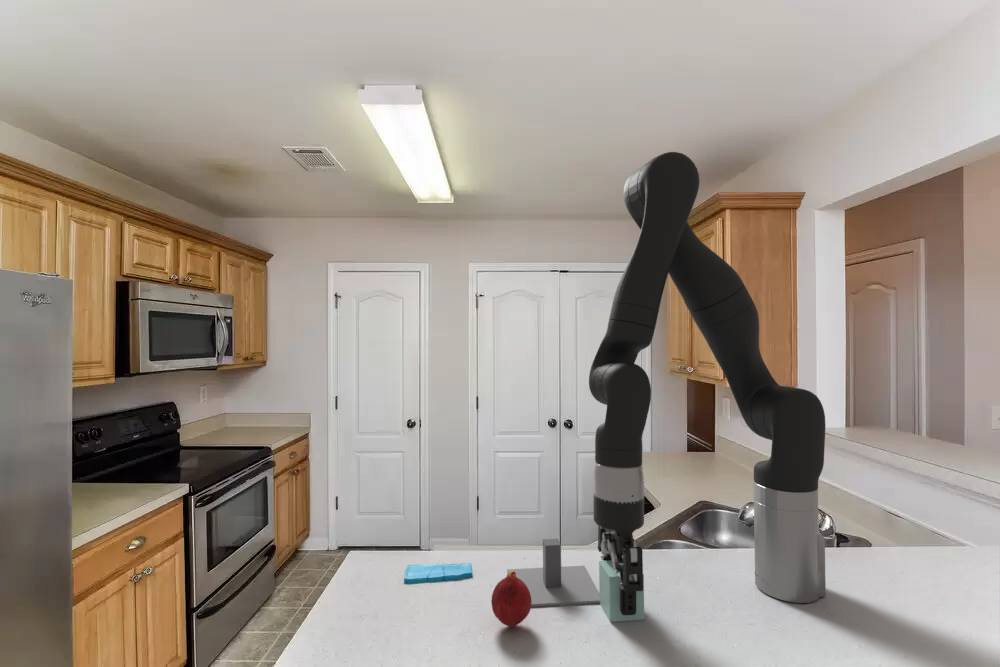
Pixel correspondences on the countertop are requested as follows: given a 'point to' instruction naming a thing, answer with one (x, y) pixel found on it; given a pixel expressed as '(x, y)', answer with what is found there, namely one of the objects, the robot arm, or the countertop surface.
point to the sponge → (437, 572)
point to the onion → (511, 600)
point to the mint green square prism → (616, 594)
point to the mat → (572, 590)
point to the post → (551, 563)
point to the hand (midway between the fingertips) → (618, 598)
